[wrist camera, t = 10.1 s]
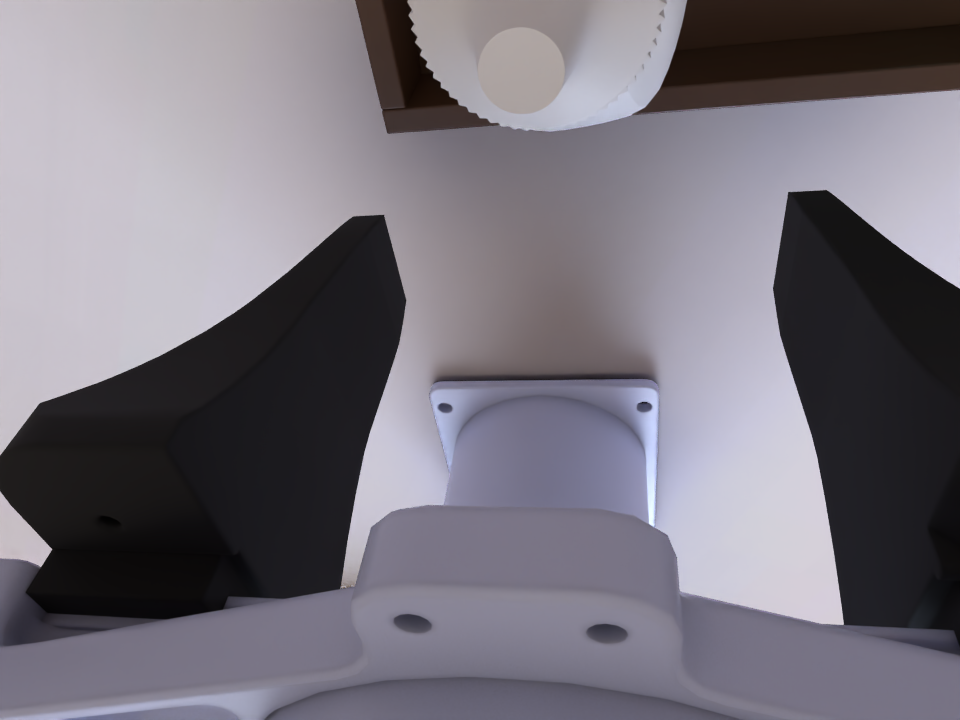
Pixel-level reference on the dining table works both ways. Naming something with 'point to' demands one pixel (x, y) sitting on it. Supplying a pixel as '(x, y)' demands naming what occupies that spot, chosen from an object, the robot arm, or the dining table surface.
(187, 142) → the dining table surface
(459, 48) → the eye dropper bottle
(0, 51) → the dining table surface
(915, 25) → the tray
